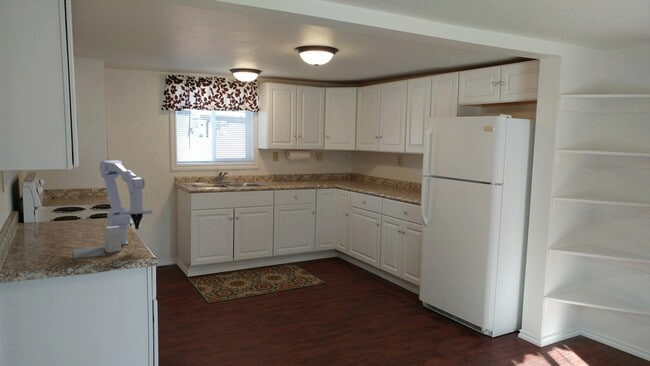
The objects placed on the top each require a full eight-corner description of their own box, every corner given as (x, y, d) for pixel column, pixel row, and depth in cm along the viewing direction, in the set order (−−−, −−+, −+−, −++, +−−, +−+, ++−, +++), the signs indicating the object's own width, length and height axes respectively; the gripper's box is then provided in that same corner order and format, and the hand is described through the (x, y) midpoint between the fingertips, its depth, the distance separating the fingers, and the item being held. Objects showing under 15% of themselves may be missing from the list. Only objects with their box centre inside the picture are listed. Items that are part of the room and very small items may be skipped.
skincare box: (117, 249, 230) (116, 225, 228) (121, 250, 227) (120, 226, 226) (104, 251, 225) (104, 227, 224) (108, 252, 222) (108, 228, 221)
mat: (73, 250, 226) (73, 249, 226) (103, 247, 232) (103, 246, 232) (73, 258, 210) (73, 257, 210) (104, 256, 216) (104, 255, 216)
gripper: (121, 203, 222) (121, 231, 223) (152, 202, 229) (153, 229, 230) (119, 201, 228) (120, 228, 229) (151, 200, 235) (151, 226, 236)
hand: (136, 228), depth 230 cm, fingers closed
